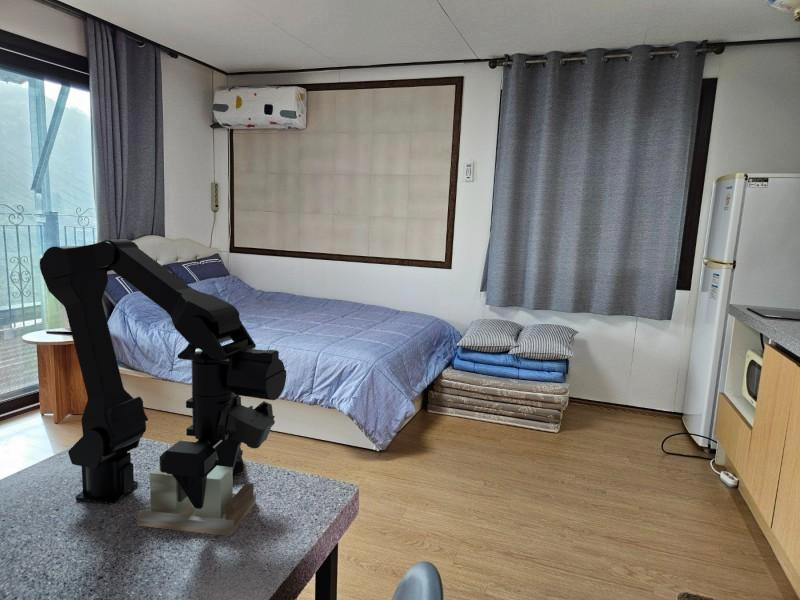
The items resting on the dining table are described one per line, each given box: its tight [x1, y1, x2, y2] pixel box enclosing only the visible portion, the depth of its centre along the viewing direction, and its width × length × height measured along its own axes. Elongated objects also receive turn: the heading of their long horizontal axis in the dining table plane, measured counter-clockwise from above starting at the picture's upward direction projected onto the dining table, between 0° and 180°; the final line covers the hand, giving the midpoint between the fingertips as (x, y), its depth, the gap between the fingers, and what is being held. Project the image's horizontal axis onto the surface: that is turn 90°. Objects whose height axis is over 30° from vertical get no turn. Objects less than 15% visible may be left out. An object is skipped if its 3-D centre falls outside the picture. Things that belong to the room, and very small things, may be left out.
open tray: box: [136, 465, 257, 537], centre depth 79 cm, size 14×9×7 cm, turn 83°
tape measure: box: [214, 447, 245, 476], centre depth 92 cm, size 7×7×4 cm
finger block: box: [195, 466, 234, 518], centre depth 78 cm, size 4×4×6 cm
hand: (214, 491), depth 78 cm, fingers open, 9 cm apart
